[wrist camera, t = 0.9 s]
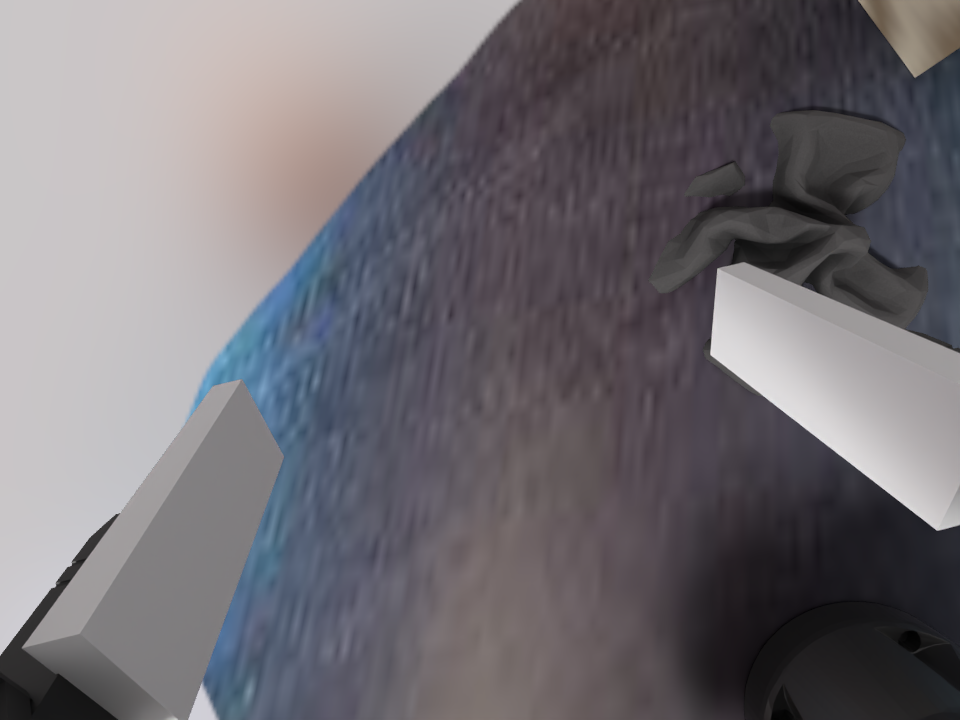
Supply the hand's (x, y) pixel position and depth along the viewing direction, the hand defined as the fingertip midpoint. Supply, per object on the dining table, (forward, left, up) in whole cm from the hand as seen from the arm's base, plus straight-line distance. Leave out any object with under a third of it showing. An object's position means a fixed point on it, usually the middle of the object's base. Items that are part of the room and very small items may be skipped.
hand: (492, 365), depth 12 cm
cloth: (-5, -19, -20) cm, 28 cm away
